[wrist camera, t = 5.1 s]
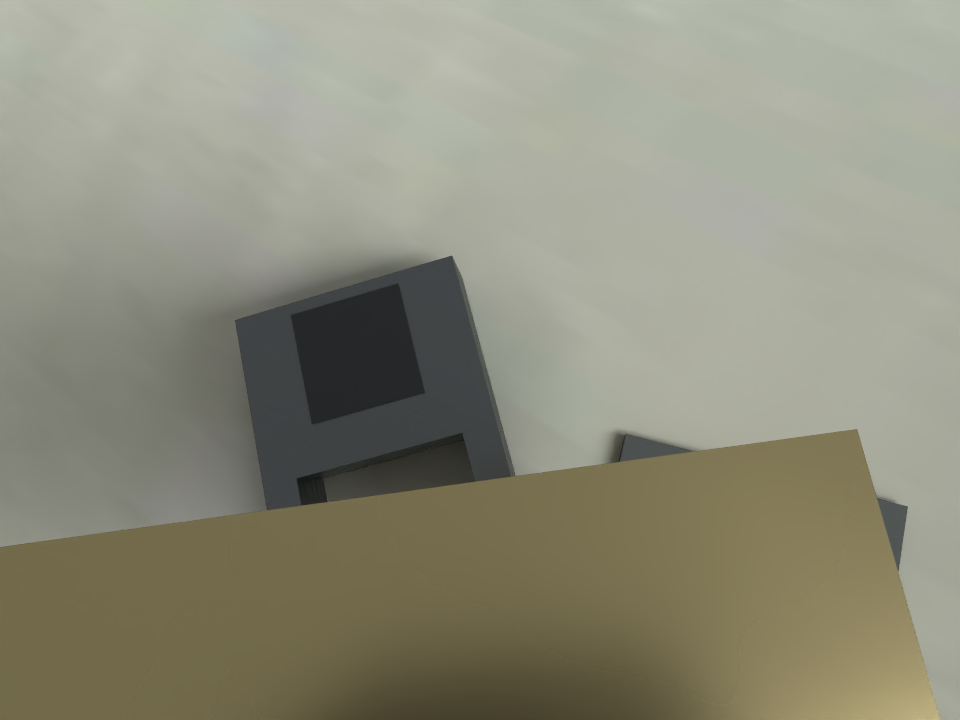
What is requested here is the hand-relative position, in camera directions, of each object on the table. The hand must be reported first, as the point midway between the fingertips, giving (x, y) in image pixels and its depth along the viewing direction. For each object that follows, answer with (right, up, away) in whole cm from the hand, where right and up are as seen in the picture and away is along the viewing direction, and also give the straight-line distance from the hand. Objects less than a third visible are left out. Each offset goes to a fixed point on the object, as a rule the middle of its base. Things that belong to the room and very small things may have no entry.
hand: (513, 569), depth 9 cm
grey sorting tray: (-4, -1, +14) cm, 15 cm away
